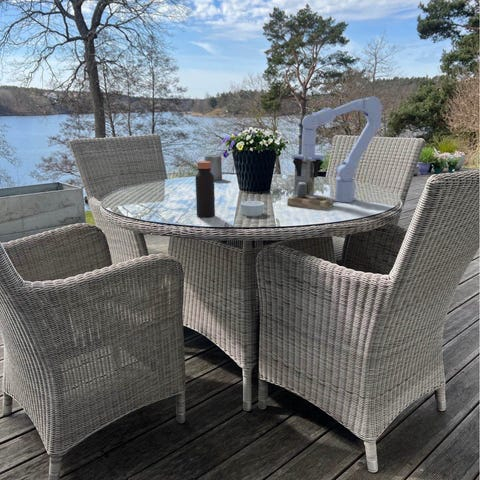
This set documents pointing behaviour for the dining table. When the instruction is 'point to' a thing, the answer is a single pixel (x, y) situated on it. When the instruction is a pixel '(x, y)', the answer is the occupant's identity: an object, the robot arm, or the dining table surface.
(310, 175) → the coffee box
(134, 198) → the dining table surface
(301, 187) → the grey rounded cylinder
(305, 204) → the socket block
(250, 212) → the ramekin
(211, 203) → the bottle
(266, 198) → the dining table surface
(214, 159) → the pillar candle
